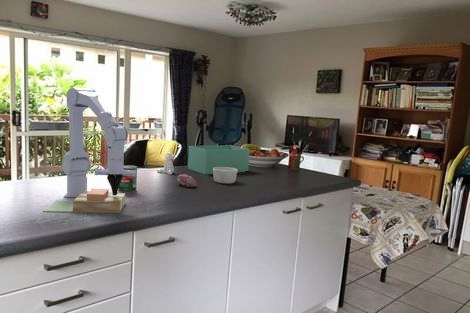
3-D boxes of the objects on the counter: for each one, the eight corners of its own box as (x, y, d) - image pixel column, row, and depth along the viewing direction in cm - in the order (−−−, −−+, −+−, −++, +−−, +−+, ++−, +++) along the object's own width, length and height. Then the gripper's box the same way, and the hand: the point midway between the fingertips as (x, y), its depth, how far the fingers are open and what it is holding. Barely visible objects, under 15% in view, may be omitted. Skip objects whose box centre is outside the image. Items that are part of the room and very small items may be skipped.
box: (248, 171, 244) (249, 149, 242) (205, 174, 225) (206, 150, 223) (229, 166, 260) (230, 145, 259) (187, 169, 242) (188, 145, 240)
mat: (56, 201, 149) (56, 200, 149) (82, 201, 151) (82, 200, 150) (43, 211, 134) (42, 210, 134) (71, 212, 136) (71, 211, 136)
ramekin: (232, 179, 216) (233, 166, 215) (240, 184, 203) (240, 171, 202) (209, 179, 212) (210, 166, 211) (215, 184, 199) (216, 171, 198)
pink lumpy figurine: (177, 187, 193) (173, 175, 190) (182, 182, 197) (179, 170, 193) (193, 190, 188) (189, 178, 185) (198, 185, 192) (195, 173, 188)
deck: (82, 202, 150) (82, 191, 150) (125, 202, 152) (125, 193, 152) (72, 212, 136) (73, 200, 136) (119, 212, 139) (119, 202, 138)
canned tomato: (117, 192, 168) (118, 167, 167) (118, 188, 176) (118, 165, 174) (136, 192, 170) (137, 168, 169) (136, 188, 178) (136, 165, 177)
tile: (92, 193, 148) (92, 188, 147) (108, 194, 149) (108, 189, 148) (86, 199, 139) (86, 194, 139) (103, 199, 140) (104, 194, 139)
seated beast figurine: (156, 172, 221) (156, 152, 220) (164, 170, 229) (165, 150, 228) (170, 174, 218) (171, 153, 216) (178, 172, 226) (179, 152, 224)
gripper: (92, 159, 138) (92, 196, 139) (134, 160, 140) (133, 197, 142) (97, 156, 145) (96, 192, 146) (136, 158, 147) (135, 193, 149)
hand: (114, 194), depth 144 cm, fingers closed
